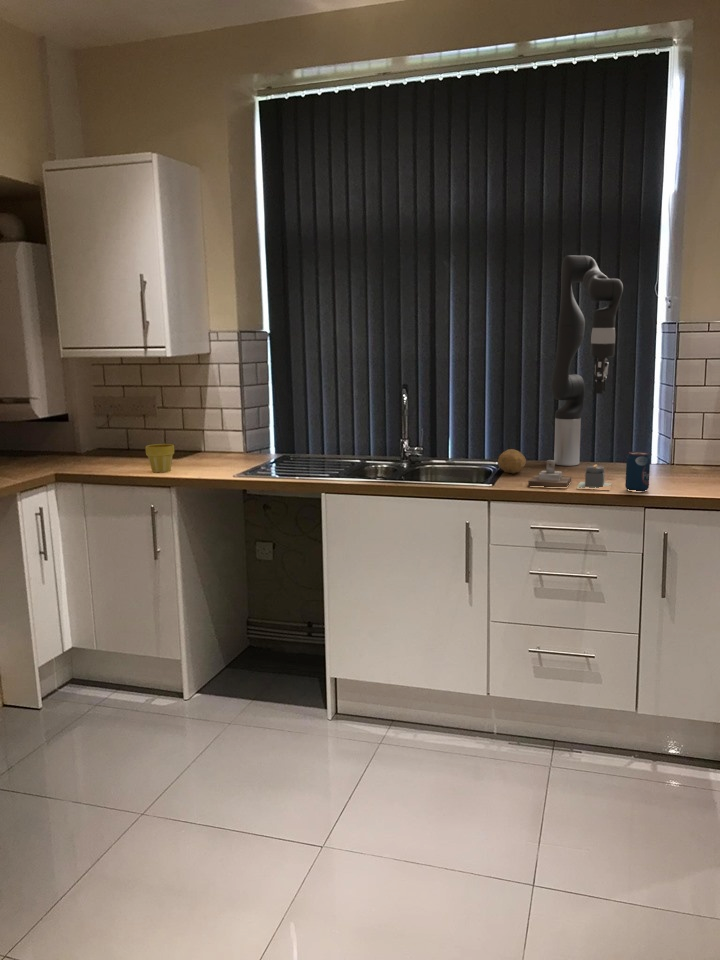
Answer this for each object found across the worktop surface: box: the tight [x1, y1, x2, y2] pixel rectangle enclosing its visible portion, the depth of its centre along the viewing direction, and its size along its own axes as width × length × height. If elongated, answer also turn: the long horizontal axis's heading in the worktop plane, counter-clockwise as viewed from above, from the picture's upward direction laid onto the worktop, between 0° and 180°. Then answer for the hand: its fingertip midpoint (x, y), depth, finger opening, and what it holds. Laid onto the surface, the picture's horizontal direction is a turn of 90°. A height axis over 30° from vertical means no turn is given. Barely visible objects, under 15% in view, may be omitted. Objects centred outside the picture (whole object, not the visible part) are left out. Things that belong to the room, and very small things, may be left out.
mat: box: [576, 481, 613, 488], centre depth 259 cm, size 10×10×1 cm
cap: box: [584, 464, 605, 487], centre depth 259 cm, size 6×6×6 cm
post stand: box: [528, 459, 572, 487], centre depth 264 cm, size 12×12×8 cm
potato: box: [497, 448, 527, 474], centre depth 286 cm, size 10×14×8 cm
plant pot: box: [144, 443, 175, 473], centre depth 301 cm, size 10×10×10 cm
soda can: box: [624, 451, 651, 491], centre depth 252 cm, size 7×7×12 cm
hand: (600, 392), depth 265 cm, fingers open, 8 cm apart
